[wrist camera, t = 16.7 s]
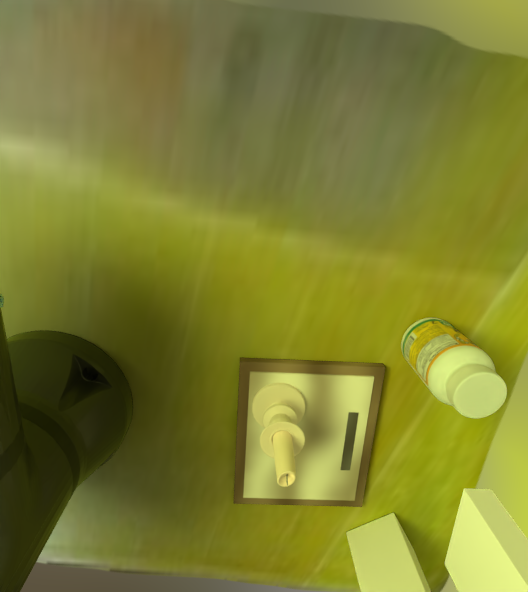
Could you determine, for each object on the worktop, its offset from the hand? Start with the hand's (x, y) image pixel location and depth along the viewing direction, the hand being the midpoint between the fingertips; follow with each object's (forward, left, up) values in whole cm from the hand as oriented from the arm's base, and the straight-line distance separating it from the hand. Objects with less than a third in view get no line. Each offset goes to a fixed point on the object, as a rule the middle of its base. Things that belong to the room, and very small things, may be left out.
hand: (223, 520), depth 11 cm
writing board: (+7, -17, -27) cm, 32 cm away
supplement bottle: (+18, -6, -27) cm, 33 cm away
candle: (+4, -13, -26) cm, 29 cm away
